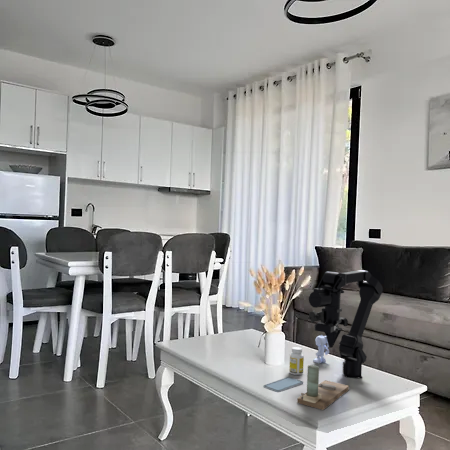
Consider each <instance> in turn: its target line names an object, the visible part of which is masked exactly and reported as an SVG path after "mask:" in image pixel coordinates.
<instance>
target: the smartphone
mask: <svg viewBox="0 0 450 450" xmlns="http://www.w3.org/2000/svg"><path fill="white" fill-rule="evenodd" d="M303 384H304V381H303V380H300V379H297V378H293V377H290V376H287V377H284V378H281V379H278V380H275V381H272V382H269V383H267V384H264V385H263V389H267V390H270V391H272V392H277V393H280V392H283V391H287V390H289V389H292V388H296V387H298V386H301V385H303Z"/></svg>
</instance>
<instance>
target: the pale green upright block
mask: <svg viewBox="0 0 450 450" xmlns="http://www.w3.org/2000/svg"><path fill="white" fill-rule="evenodd" d="M319 374H320V367H319V366H318V365H314V364H310V365H307V374H306V375H307V376H306V377H307V378H306V379H307V380H306V392H307V393H306V392H301V395H300V396H302V395H303V400H305V401H308V402H312V403H316V402H317V401H319V400H320V399H321V394H319V393H318V385H319V384H320V383H319V382H320V380H319V378H320V377H319V376H320V375H319ZM305 393H306V394H305Z"/></svg>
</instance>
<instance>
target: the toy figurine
mask: <svg viewBox="0 0 450 450" xmlns="http://www.w3.org/2000/svg"><path fill="white" fill-rule="evenodd" d="M314 340H315V345H316V346H317V349H318V350H317V352H316V353H315V356H316V358H313V360H312V362H313V363H316V364H322V363H323V364H324V363H325V364H326V363H327V360H326V358H325V356H326V355H329V354H330V349H329V348H330V347H329V345H328V341H327V337H326V335H323V334H320V335H318V336H316V338H315V339H314ZM324 355H325V356H324Z"/></svg>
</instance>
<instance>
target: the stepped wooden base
mask: <svg viewBox="0 0 450 450" xmlns="http://www.w3.org/2000/svg"><path fill="white" fill-rule="evenodd" d="M349 390H350V385H347V384H344V383H338V382H335V381H334V382H333V381H330V380H323V381H322V382H320V383H318V393H319V394H321V399H320V400H319V401H317V402H316V403H312V402H308V401H305V400H303V395H299V396H298V398H297V400H296V401H297V402H296V403H297V404H298V405H299V404H300V405H304V406H307V407H311V408H314V409H319V410H322V411H324V410H325V409H327V408H328V407H329V406H330V405H332V404H333V403H334V402H336V401H337V400H339V398H341V397H342V396H343V395H344V394H346V393H347V392H348V391H349ZM304 393H305V394H306V393H307V391H306V392H304ZM340 396H341V397H340Z"/></svg>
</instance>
